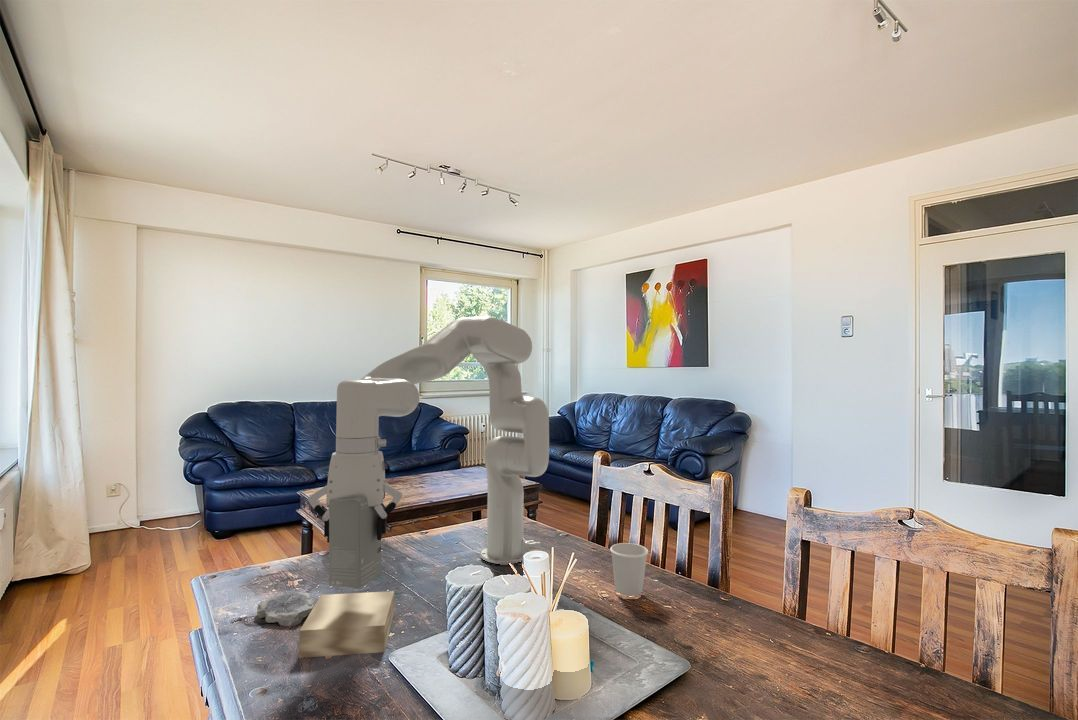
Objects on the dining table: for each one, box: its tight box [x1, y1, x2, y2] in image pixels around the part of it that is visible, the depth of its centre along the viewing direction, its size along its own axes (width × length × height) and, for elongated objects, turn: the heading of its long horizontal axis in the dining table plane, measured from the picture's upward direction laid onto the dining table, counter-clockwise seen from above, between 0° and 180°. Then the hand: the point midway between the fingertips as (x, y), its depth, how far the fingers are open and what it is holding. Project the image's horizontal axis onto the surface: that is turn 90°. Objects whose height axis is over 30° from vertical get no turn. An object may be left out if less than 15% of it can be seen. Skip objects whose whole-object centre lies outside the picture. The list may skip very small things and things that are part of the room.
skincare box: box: [328, 498, 382, 590], centre depth 97 cm, size 8×7×16 cm
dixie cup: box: [609, 542, 649, 596], centre depth 115 cm, size 8×8×10 cm
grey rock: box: [256, 591, 315, 627], centre depth 104 cm, size 11×4×10 cm
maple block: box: [298, 590, 395, 659], centre depth 96 cm, size 14×14×5 cm
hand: (355, 538), depth 97 cm, fingers closed on skincare box, 8 cm apart
